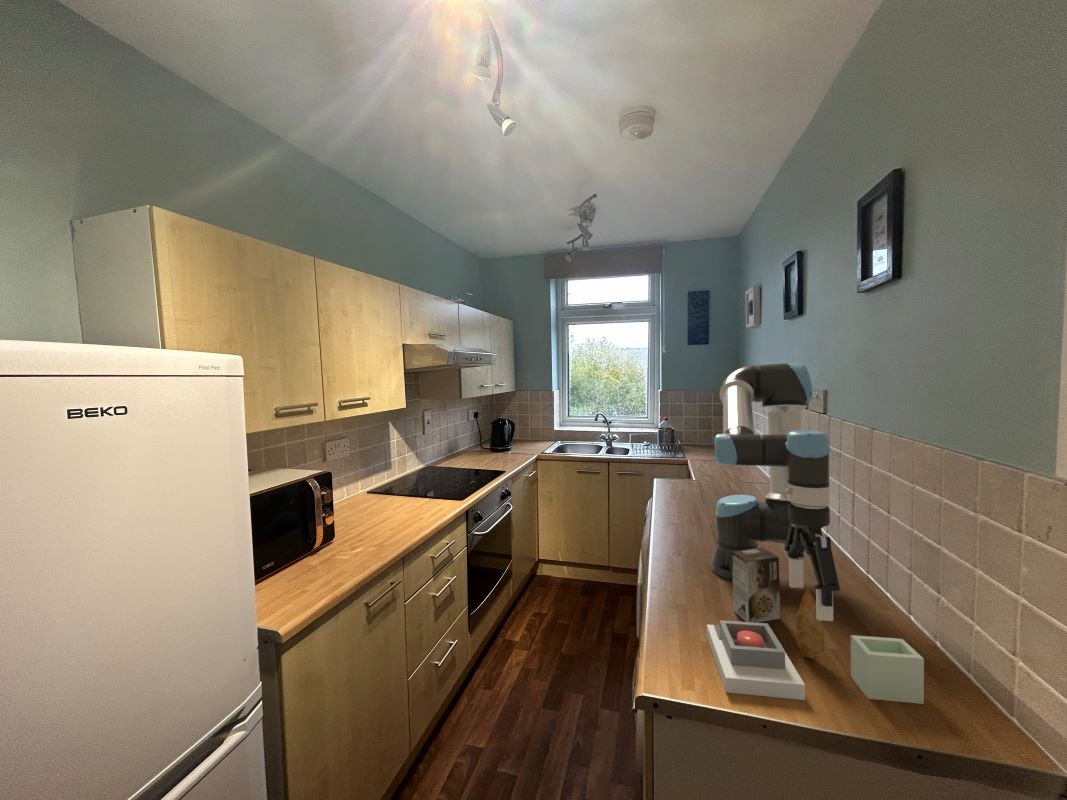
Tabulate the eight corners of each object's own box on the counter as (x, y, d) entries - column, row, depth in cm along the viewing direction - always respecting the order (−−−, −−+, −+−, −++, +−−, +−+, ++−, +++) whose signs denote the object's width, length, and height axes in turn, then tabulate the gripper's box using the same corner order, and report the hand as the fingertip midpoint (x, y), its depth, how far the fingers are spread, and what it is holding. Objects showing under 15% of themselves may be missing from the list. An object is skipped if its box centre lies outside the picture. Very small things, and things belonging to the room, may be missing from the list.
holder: (851, 676, 86) (850, 635, 85) (902, 680, 84) (902, 638, 83) (868, 698, 80) (868, 654, 79) (923, 703, 78) (923, 658, 77)
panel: (707, 636, 100) (706, 610, 100) (771, 641, 98) (771, 614, 97) (726, 692, 83) (725, 660, 82) (805, 700, 80) (804, 666, 80)
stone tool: (821, 656, 92) (821, 589, 91) (825, 663, 90) (824, 594, 89) (795, 652, 93) (794, 586, 93) (798, 659, 91) (797, 591, 91)
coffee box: (763, 606, 112) (762, 546, 112) (781, 619, 106) (780, 556, 105) (732, 610, 111) (730, 550, 110) (748, 624, 104) (747, 560, 104)
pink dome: (734, 642, 93) (734, 629, 93) (759, 644, 92) (759, 631, 92) (741, 657, 88) (740, 643, 88) (767, 659, 87) (766, 645, 87)
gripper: (768, 489, 103) (770, 575, 104) (815, 522, 78) (816, 634, 79) (802, 489, 101) (803, 576, 102) (861, 523, 77) (862, 638, 78)
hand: (809, 602), depth 91 cm, fingers open, 13 cm apart
